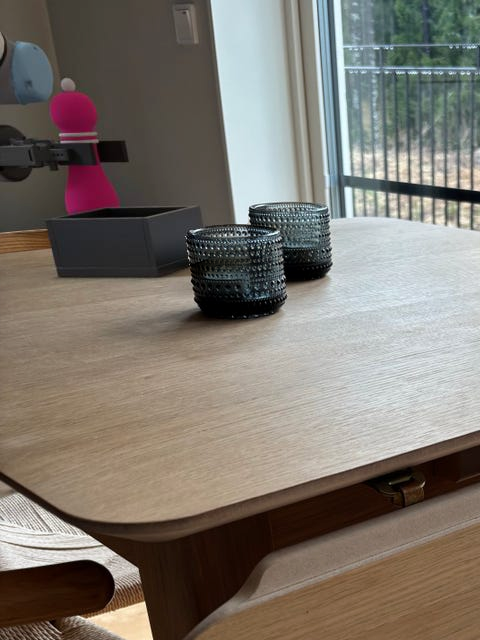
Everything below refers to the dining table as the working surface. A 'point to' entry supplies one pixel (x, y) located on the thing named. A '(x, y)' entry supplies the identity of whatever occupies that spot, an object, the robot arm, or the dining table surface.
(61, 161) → the robot arm
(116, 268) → the basin
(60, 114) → the pepper mill
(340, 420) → the dining table surface
